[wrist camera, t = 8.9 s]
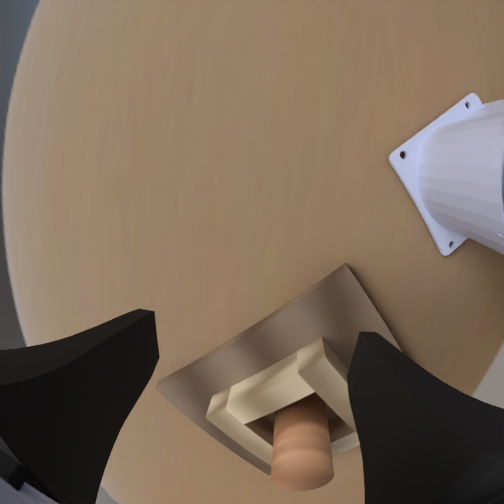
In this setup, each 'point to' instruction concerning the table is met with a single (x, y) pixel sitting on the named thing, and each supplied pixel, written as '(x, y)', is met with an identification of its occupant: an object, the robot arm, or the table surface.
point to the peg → (302, 445)
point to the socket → (280, 370)
